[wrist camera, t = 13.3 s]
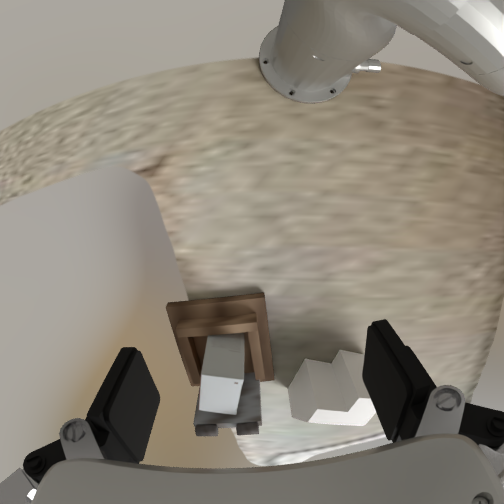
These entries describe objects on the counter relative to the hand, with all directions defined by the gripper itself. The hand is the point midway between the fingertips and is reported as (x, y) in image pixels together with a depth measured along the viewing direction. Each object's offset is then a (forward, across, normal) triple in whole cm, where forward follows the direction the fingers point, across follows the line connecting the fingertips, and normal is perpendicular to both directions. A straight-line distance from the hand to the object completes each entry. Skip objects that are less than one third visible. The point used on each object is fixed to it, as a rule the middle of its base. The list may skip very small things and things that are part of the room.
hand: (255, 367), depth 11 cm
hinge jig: (+30, +7, +21) cm, 37 cm away
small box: (+29, +7, +21) cm, 37 cm away
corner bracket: (+31, -10, +31) cm, 45 cm away
